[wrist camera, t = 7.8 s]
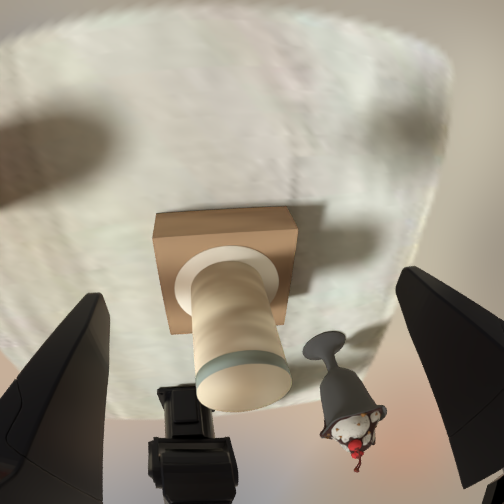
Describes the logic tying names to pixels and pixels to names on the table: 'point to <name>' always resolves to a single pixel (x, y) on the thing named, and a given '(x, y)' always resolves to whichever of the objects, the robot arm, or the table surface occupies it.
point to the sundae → (344, 399)
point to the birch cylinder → (236, 340)
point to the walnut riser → (223, 254)
